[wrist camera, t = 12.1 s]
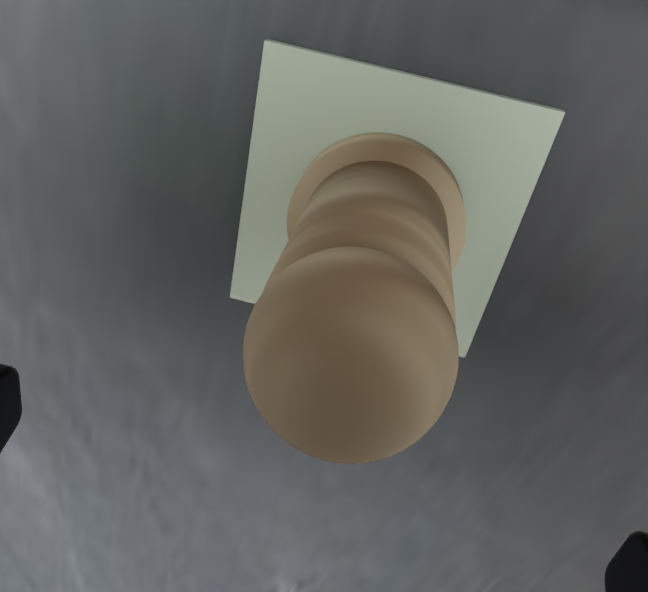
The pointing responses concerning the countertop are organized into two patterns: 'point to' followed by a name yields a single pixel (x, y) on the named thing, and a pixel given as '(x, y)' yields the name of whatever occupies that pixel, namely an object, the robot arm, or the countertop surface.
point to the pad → (402, 119)
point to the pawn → (361, 303)
